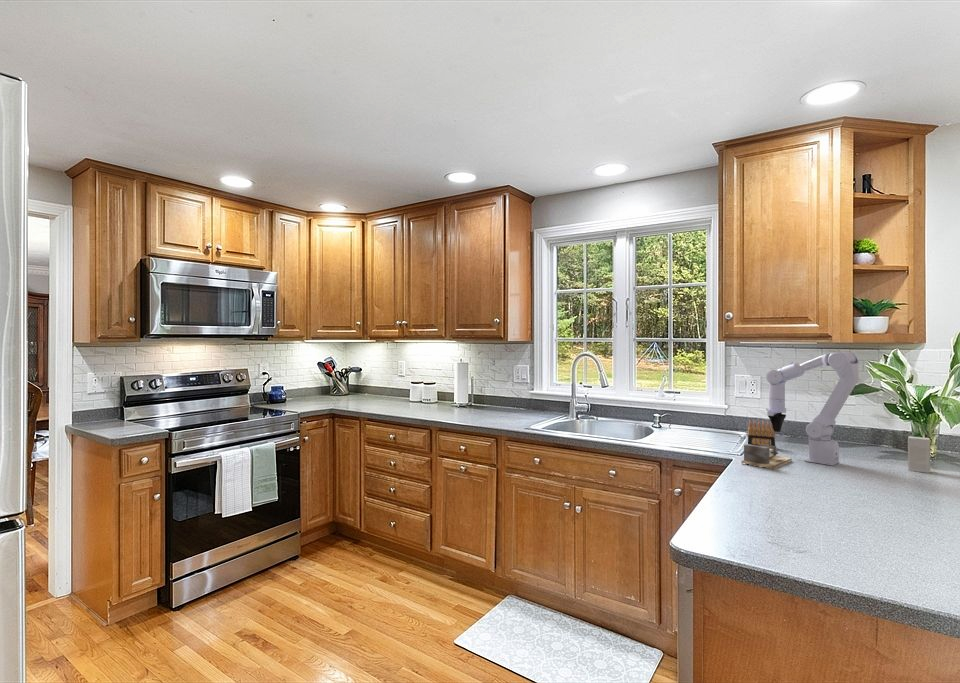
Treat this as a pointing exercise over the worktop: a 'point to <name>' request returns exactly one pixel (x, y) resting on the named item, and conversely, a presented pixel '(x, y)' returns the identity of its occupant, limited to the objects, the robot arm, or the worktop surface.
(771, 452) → the gauge ram
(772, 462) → the gauge bench
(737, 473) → the worktop surface
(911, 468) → the skincare box
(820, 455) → the robot arm
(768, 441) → the ammunition clip
